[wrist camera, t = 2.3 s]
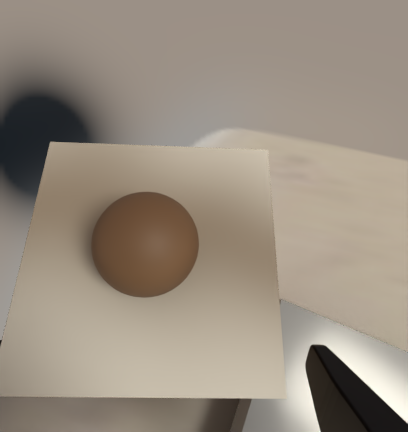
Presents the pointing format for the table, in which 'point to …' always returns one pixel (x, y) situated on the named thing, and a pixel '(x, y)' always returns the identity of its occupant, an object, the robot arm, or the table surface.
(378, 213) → the table surface
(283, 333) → the stone block
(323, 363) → the robot arm
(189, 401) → the table surface
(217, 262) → the box
